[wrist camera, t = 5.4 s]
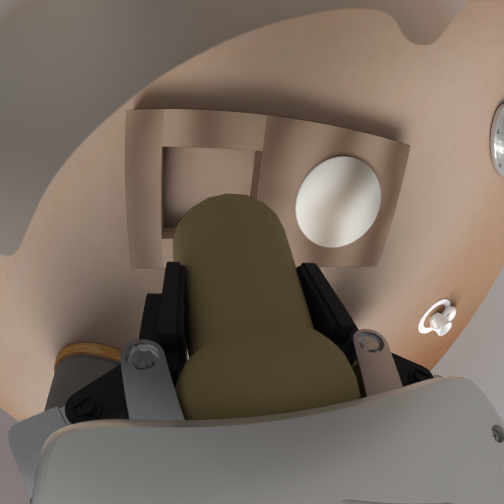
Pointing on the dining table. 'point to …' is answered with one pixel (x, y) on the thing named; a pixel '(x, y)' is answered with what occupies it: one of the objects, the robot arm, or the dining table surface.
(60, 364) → the decorative piece
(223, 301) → the cork
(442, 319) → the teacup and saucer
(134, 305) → the dining table surface
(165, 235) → the caddy board
